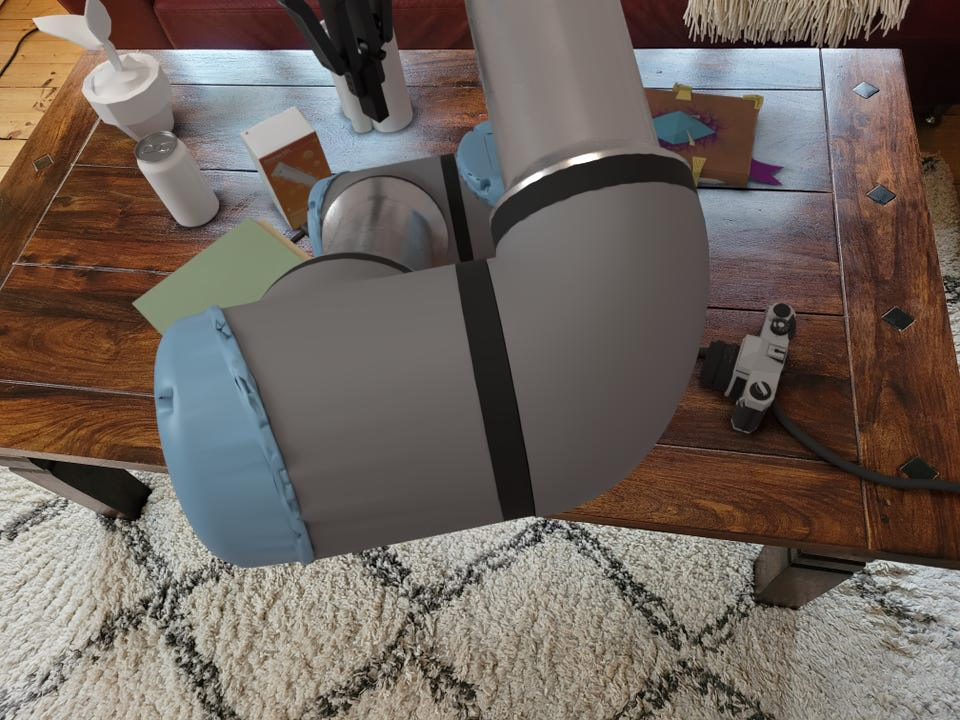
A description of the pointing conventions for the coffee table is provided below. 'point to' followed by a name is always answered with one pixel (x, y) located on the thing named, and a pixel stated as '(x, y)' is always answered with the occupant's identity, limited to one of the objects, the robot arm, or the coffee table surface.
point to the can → (176, 178)
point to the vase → (392, 91)
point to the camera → (752, 366)
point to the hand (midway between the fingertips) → (376, 114)
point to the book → (710, 134)
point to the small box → (287, 161)
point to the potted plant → (117, 75)
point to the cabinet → (219, 276)
